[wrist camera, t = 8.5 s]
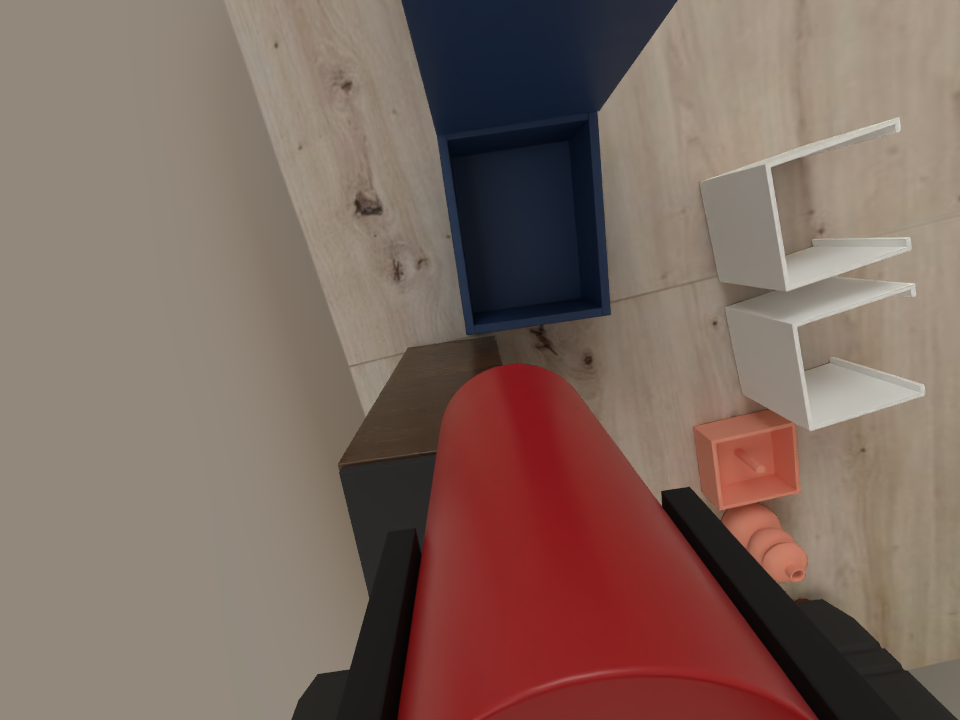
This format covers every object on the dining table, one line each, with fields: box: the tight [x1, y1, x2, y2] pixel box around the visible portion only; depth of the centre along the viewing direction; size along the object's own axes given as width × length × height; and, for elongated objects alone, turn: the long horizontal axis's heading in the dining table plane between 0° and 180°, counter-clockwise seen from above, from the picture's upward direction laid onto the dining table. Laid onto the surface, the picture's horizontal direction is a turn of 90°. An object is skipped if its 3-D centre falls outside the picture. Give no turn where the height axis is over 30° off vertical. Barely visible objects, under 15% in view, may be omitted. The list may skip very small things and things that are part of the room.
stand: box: [338, 336, 502, 471], centre depth 39 cm, size 10×10×28 cm
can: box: [397, 364, 819, 720], centre depth 13 cm, size 7×7×14 cm
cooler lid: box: [401, 0, 677, 135], centre depth 28 cm, size 18×14×1 cm
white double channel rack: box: [699, 117, 925, 431], centre depth 45 cm, size 25×11×11 cm, turn 19°
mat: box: [339, 455, 436, 598], centre depth 25 cm, size 10×10×1 cm
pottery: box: [693, 409, 808, 582], centre depth 52 cm, size 18×10×10 cm, turn 14°
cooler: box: [437, 111, 611, 335], centre depth 44 cm, size 18×14×9 cm
